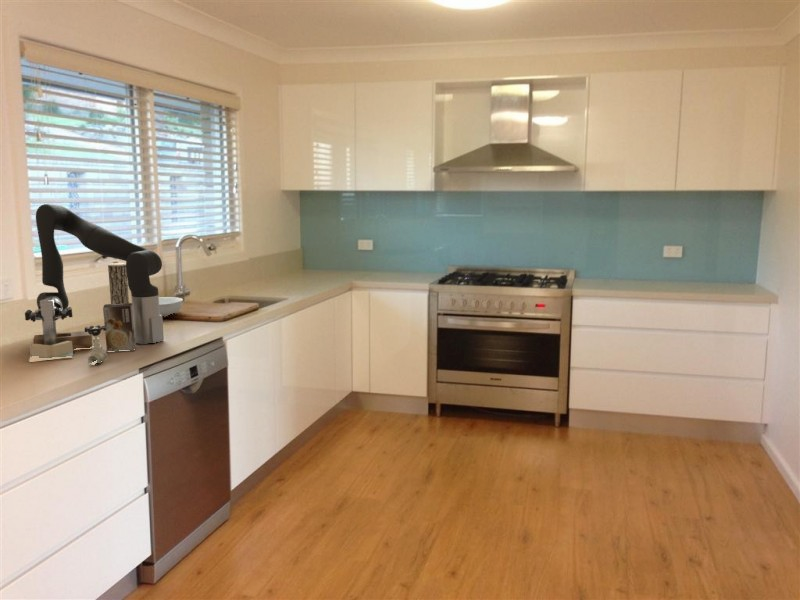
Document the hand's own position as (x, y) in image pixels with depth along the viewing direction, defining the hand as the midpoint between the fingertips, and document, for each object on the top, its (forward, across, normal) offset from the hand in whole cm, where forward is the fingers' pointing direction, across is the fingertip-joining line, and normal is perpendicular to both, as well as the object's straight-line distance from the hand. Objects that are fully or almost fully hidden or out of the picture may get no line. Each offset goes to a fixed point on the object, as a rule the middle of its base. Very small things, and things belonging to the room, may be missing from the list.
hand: (48, 317), depth 225 cm
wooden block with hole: (-10, +3, +14) cm, 17 cm away
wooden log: (-46, +24, +14) cm, 54 cm away
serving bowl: (-59, +39, +14) cm, 72 cm away
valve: (+15, +14, +14) cm, 25 cm away
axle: (-2, 0, +12) cm, 13 cm away
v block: (-1, 0, +14) cm, 14 cm away
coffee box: (-1, +22, +14) cm, 26 cm away
